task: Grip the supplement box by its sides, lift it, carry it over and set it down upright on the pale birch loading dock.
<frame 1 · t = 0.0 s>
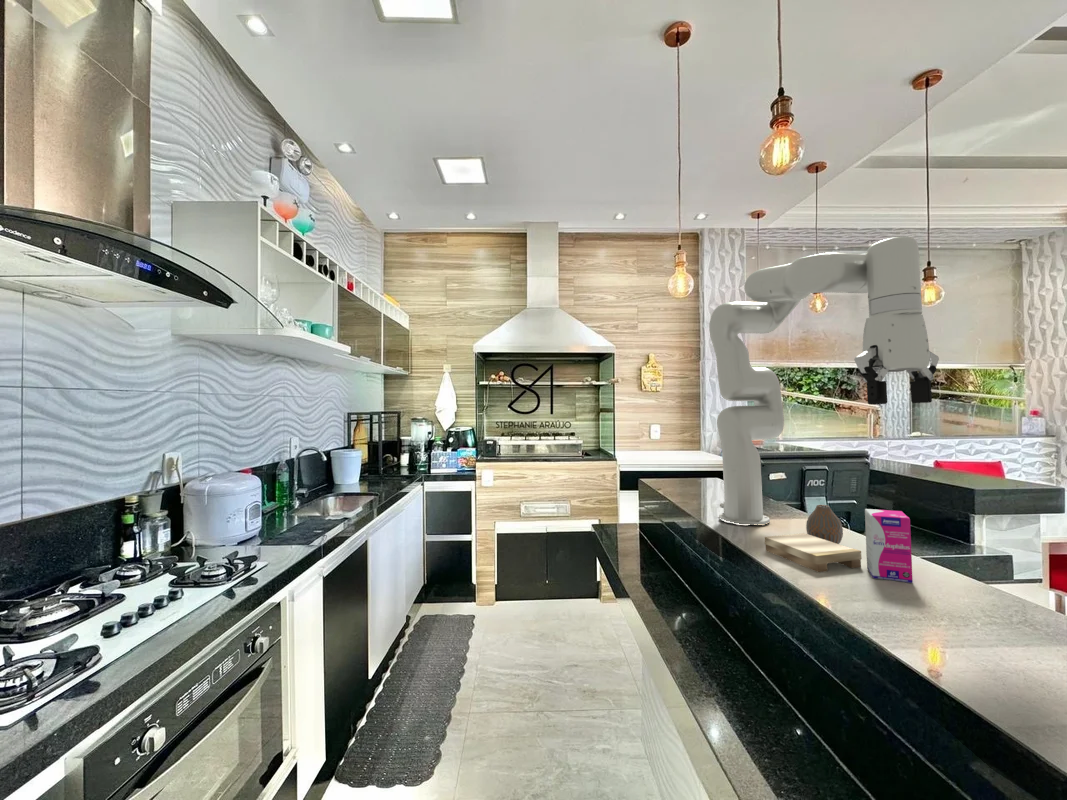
hand: (899, 403, 82), 31 cm above the table, tool pointing down, fingers open, 9 cm apart
vase: (825, 546, 102), on the table
dock: (810, 558, 93), on the table
supplement box: (889, 577, 82), on the table
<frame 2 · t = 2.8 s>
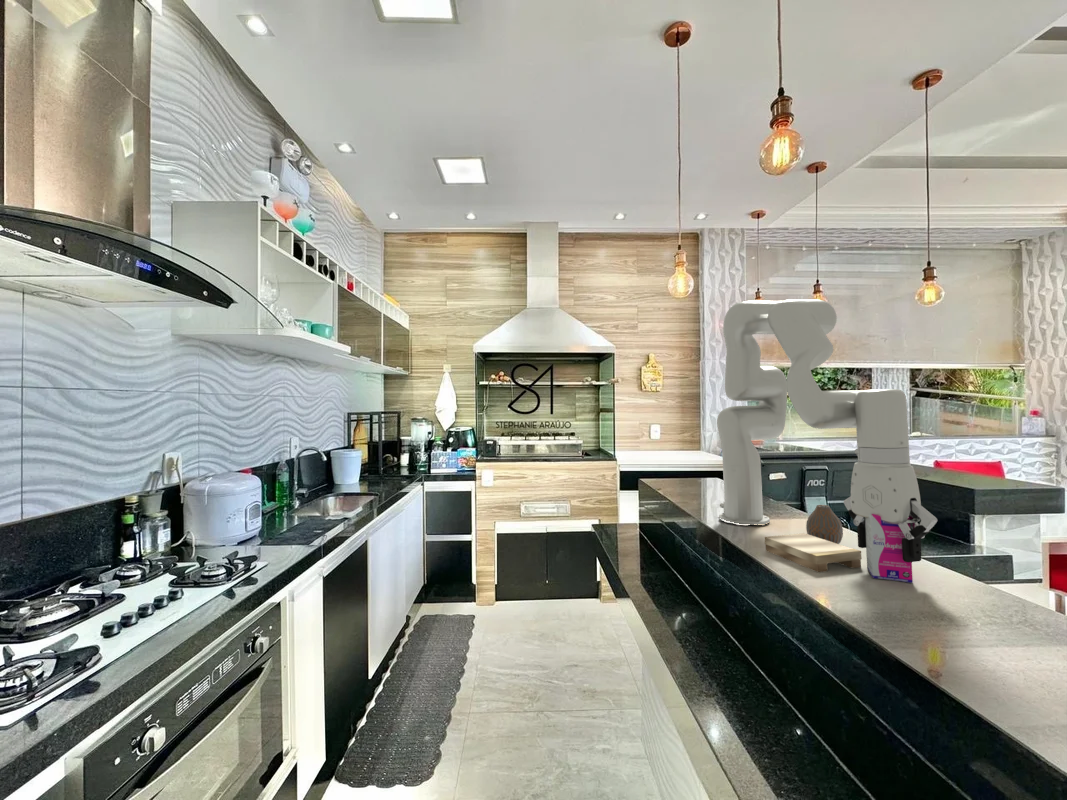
hand: (888, 553, 82), 4 cm above the table, tool pointing down, fingers closed on supplement box, 8 cm apart
supplement box: (889, 577, 82), on the table, touching gripper
everything else where it was.
when the fingers open (8 cm above the table, at t = 9.0 s): supplement box drops 1 cm, resting on dock.
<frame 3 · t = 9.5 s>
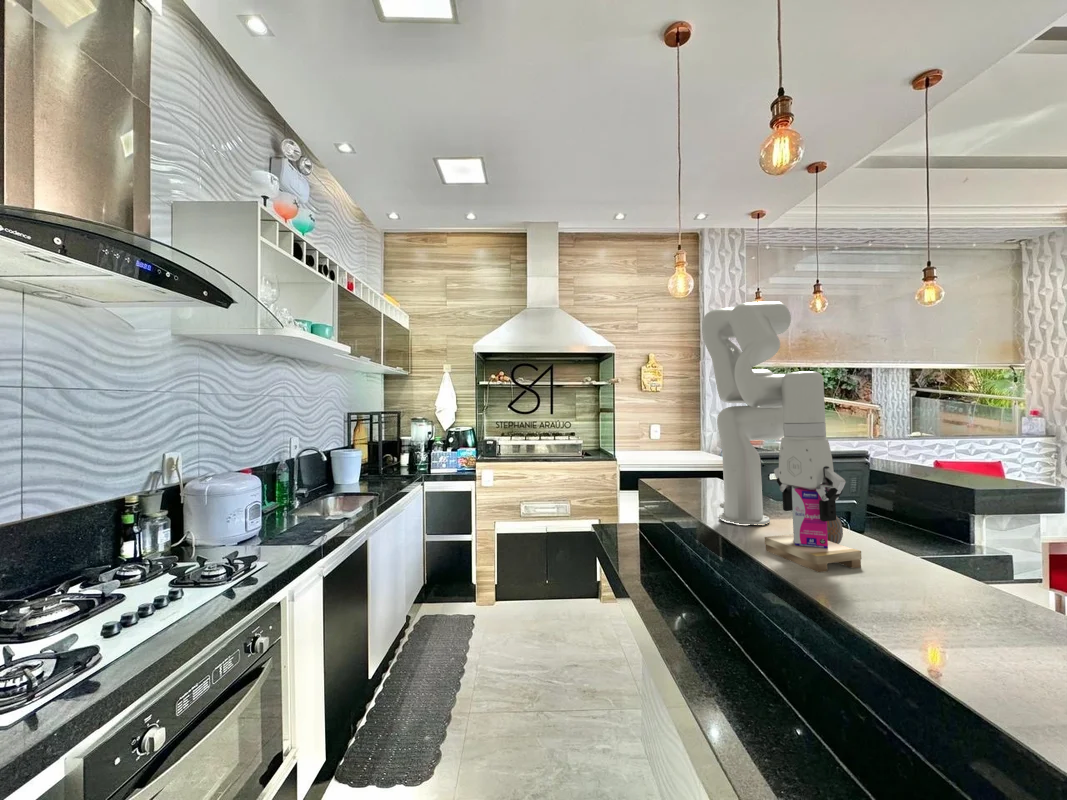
hand: (808, 515, 93), 9 cm above the table, tool pointing down, fingers open, 9 cm apart
supplement box: (810, 544, 93), point 3 cm above the table, touching dock
everything else where it was.
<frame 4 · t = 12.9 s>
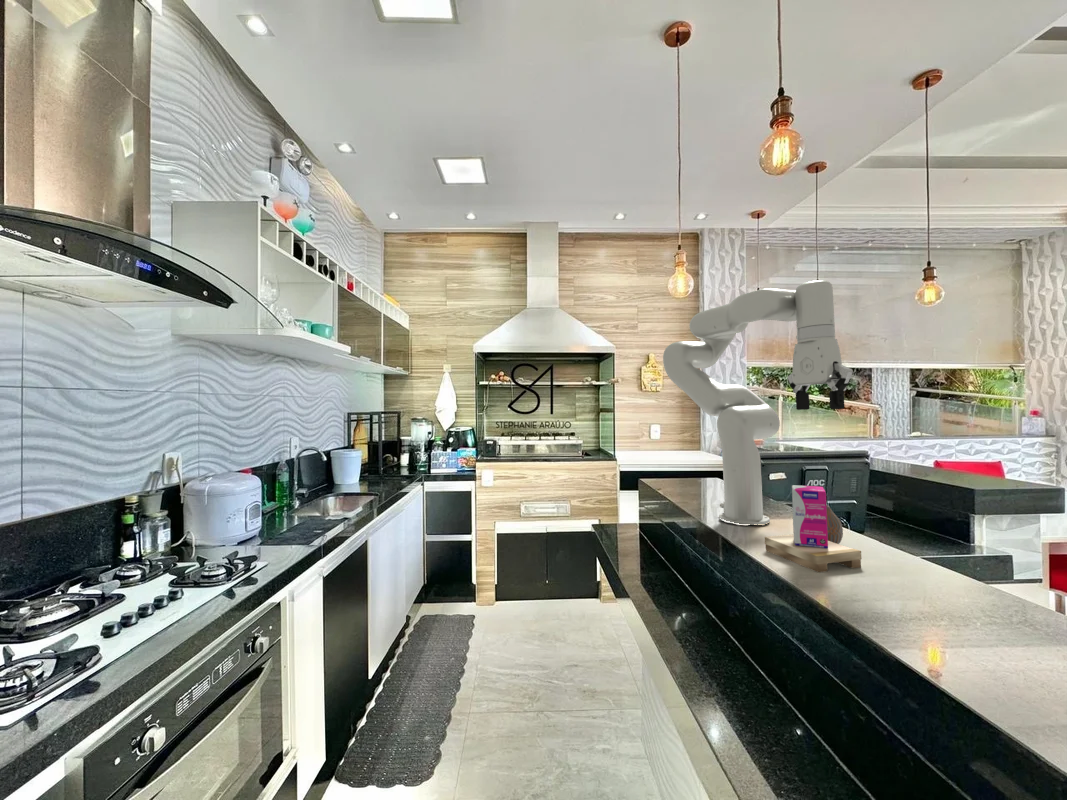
hand: (819, 409, 105), 30 cm above the table, tool pointing down, fingers open, 9 cm apart
nothing on the table moved.
at the end: supplement box inside the target area on the dock (0.1 cm from its centre), point 2.8 cm above the dock's base; supplement box tilted 0°; the gripper is holding nothing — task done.
